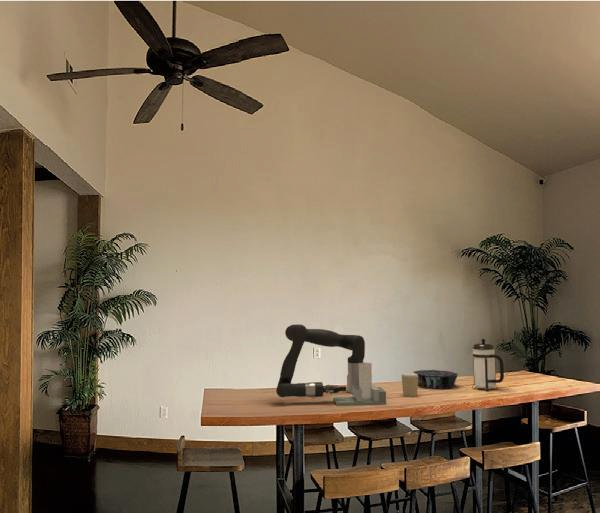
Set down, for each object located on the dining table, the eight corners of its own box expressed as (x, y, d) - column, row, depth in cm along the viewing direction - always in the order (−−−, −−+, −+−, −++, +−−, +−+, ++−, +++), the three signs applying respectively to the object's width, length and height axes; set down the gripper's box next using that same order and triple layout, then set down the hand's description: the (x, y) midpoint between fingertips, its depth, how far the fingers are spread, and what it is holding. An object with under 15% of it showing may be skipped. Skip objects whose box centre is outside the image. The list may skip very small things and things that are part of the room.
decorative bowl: (428, 394, 307) (428, 377, 307) (404, 383, 333) (405, 367, 333) (465, 391, 315) (465, 375, 315) (439, 380, 341) (439, 365, 341)
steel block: (361, 400, 276) (360, 363, 277) (359, 398, 280) (358, 362, 281) (372, 399, 276) (371, 363, 277) (370, 398, 280) (369, 362, 282)
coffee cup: (419, 394, 297) (418, 373, 298) (418, 397, 288) (417, 375, 289) (402, 393, 300) (402, 372, 301) (401, 396, 291) (400, 375, 292)
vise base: (336, 405, 269) (336, 391, 270) (333, 399, 284) (332, 385, 285) (386, 404, 271) (386, 389, 272) (380, 398, 286) (379, 384, 287)
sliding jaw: (356, 401, 271) (356, 390, 272) (352, 396, 284) (352, 385, 285) (362, 401, 271) (362, 390, 272) (358, 396, 284) (357, 385, 285)
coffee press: (473, 391, 304) (471, 339, 307) (470, 386, 320) (469, 337, 322) (504, 392, 300) (502, 340, 302) (500, 387, 316) (499, 337, 318)
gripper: (314, 384, 270) (347, 383, 272) (312, 380, 284) (344, 379, 285) (315, 399, 270) (348, 398, 271) (312, 394, 283) (344, 393, 284)
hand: (346, 388), depth 278 cm, fingers closed
